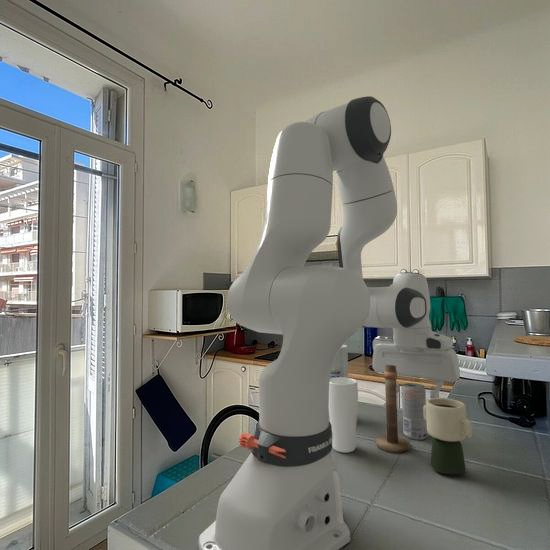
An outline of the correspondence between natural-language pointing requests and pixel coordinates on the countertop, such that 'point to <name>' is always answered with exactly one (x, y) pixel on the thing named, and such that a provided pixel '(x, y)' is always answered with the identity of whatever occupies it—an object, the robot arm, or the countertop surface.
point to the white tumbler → (343, 413)
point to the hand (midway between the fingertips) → (414, 394)
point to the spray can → (340, 364)
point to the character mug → (447, 433)
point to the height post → (391, 416)
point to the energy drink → (414, 411)
